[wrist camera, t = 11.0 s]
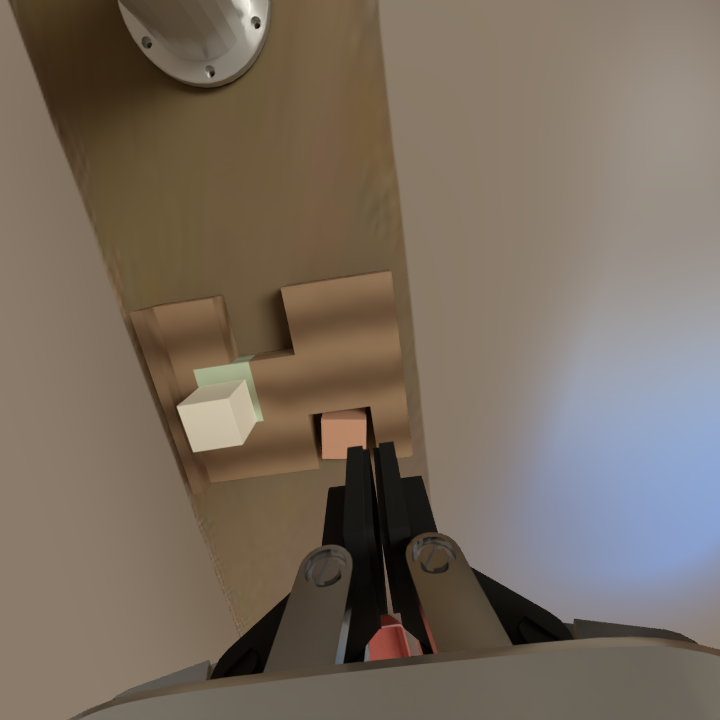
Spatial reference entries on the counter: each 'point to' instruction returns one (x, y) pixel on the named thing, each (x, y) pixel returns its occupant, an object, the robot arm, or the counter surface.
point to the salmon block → (342, 432)
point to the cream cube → (218, 415)
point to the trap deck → (283, 373)
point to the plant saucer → (389, 640)
